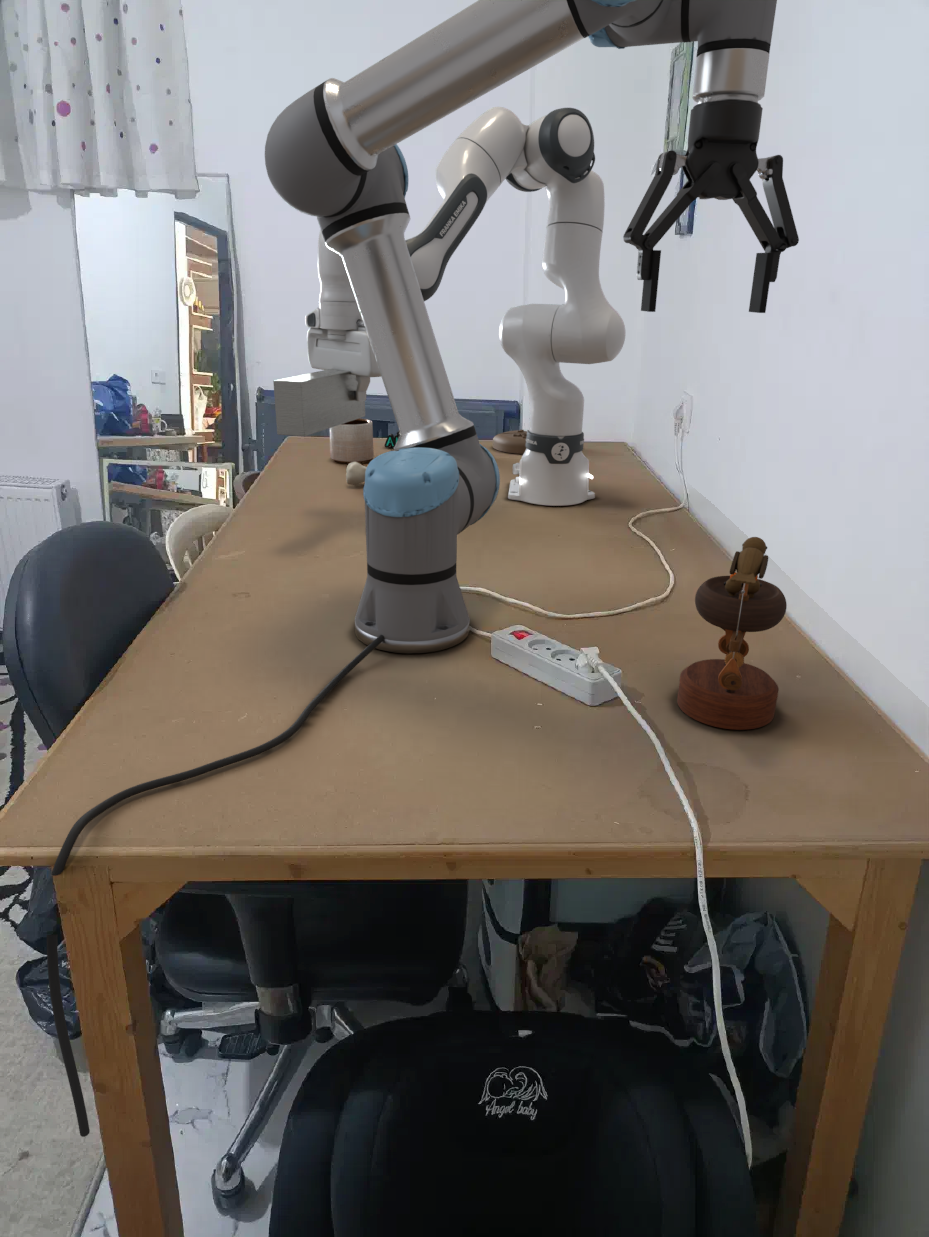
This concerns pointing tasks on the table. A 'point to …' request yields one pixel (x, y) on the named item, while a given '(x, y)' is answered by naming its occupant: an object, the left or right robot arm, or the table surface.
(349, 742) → the table surface
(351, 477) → the dog toy
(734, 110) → the left robot arm
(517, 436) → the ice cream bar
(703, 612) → the music box
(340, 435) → the planter
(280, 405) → the bar
